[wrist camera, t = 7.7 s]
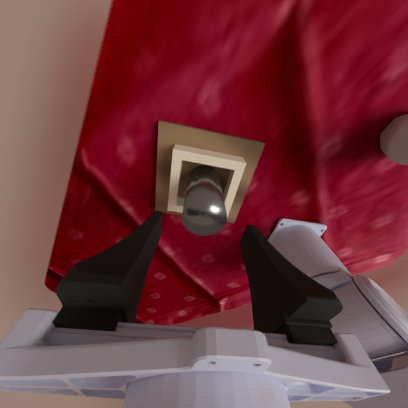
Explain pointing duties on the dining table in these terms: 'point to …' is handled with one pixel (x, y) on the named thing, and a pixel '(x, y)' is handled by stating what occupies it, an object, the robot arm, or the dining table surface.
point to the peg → (204, 202)
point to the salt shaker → (396, 140)
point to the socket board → (202, 155)
